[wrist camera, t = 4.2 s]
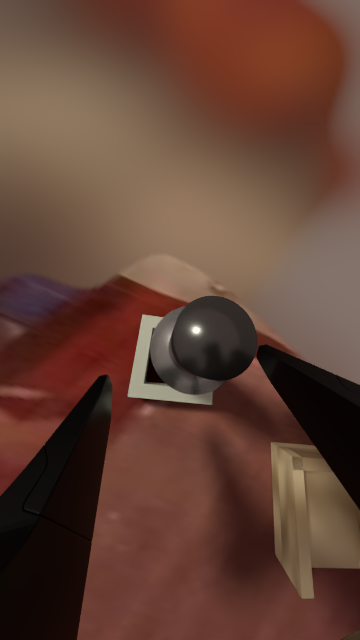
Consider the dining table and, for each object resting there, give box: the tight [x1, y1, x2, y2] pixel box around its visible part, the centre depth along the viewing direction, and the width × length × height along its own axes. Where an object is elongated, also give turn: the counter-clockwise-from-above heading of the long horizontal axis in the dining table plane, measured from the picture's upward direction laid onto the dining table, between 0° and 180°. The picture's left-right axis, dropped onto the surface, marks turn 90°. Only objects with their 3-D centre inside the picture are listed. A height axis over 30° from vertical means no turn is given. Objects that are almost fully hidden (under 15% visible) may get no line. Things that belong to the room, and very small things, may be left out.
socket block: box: [128, 315, 213, 405], centre depth 18 cm, size 8×8×2 cm
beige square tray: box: [271, 442, 360, 598], centre depth 15 cm, size 9×9×3 cm
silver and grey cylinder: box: [150, 296, 257, 395], centre depth 12 cm, size 4×4×15 cm
